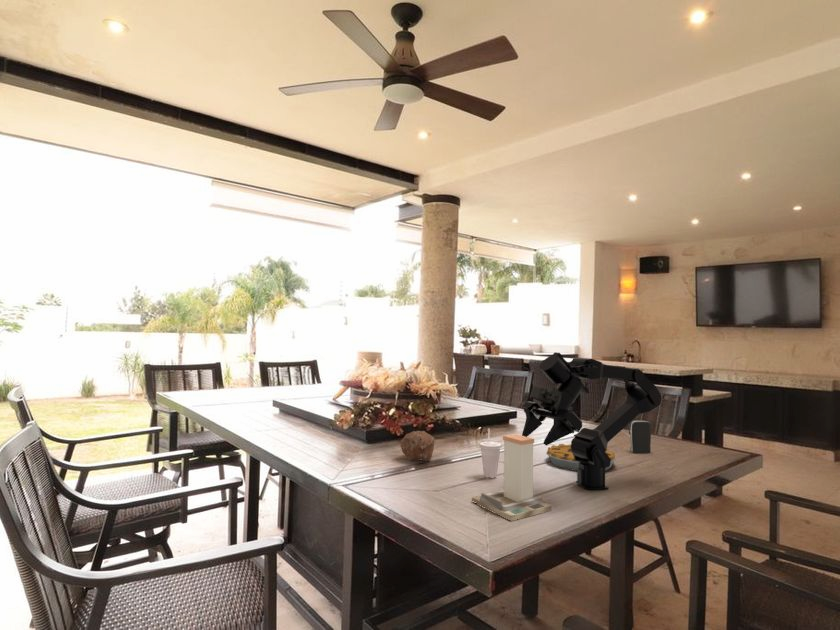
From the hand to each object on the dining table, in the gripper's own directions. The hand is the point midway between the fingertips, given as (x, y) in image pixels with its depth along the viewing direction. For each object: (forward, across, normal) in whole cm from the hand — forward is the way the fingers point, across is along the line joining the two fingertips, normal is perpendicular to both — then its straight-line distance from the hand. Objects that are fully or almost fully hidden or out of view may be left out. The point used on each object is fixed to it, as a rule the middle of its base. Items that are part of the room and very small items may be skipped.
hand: (533, 440), depth 124 cm
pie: (-12, -20, +35) cm, 42 cm away
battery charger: (-33, -24, +58) cm, 71 cm away
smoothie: (+12, -18, +8) cm, 23 cm away
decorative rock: (+20, -43, -1) cm, 48 cm away
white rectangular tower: (+15, +4, +3) cm, 16 cm away
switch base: (+17, +5, +2) cm, 18 cm away
